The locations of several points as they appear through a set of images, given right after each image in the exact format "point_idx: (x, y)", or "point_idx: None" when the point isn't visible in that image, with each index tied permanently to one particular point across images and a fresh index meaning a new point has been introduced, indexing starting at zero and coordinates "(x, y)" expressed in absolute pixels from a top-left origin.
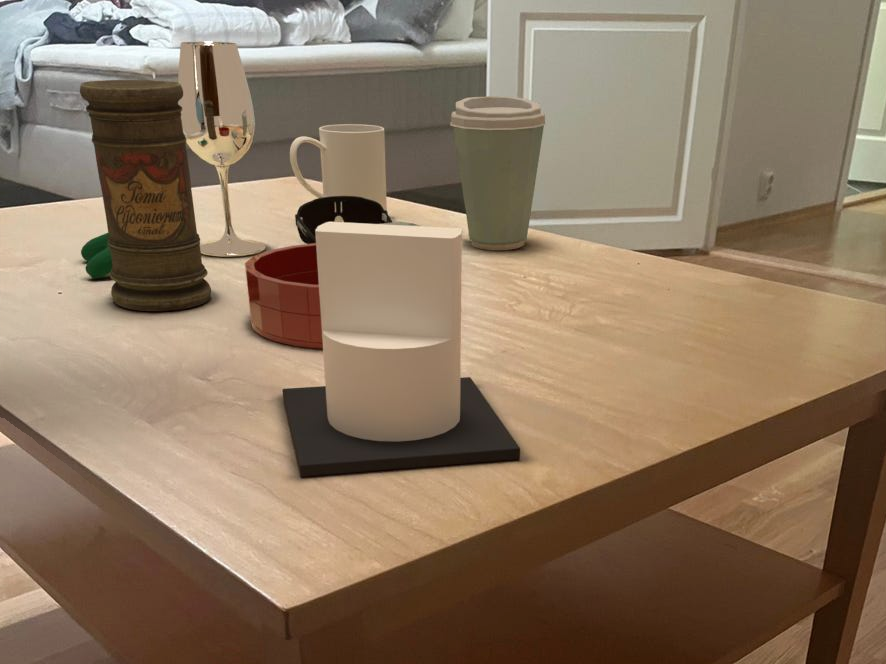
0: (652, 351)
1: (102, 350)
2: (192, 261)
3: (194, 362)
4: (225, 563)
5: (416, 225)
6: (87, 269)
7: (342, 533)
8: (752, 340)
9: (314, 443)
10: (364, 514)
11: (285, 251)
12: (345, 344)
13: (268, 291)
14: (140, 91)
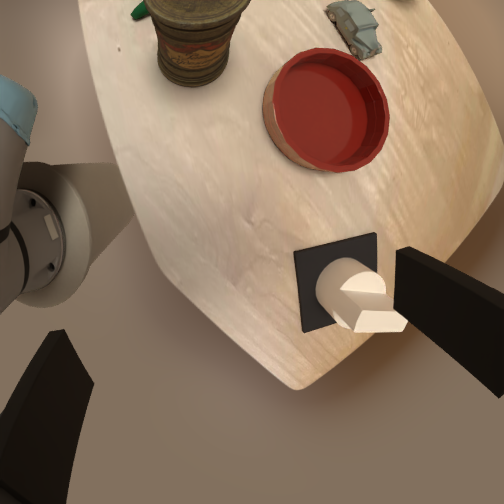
0: (441, 184)
1: (176, 170)
2: (223, 59)
3: (238, 192)
4: (280, 380)
5: (370, 14)
6: (132, 16)
7: (313, 362)
8: (468, 174)
9: (309, 314)
10: (320, 351)
11: (295, 63)
12: (340, 325)
13: (291, 150)
14: (217, 21)
